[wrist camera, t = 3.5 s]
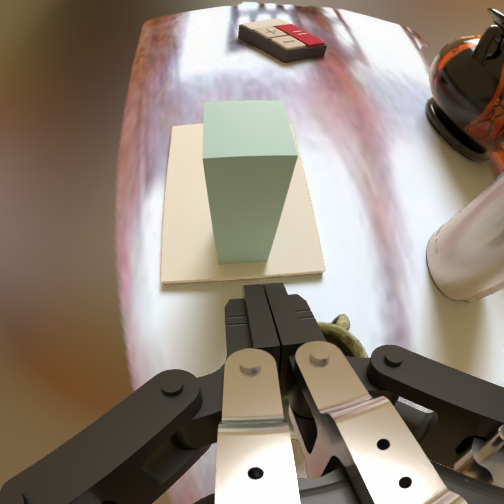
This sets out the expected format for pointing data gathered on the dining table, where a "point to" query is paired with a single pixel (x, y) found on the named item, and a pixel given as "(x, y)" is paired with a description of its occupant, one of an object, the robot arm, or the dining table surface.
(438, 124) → the amphora vase
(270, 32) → the calculator
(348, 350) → the vessel
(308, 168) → the dining table surface
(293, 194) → the mat
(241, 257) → the block
